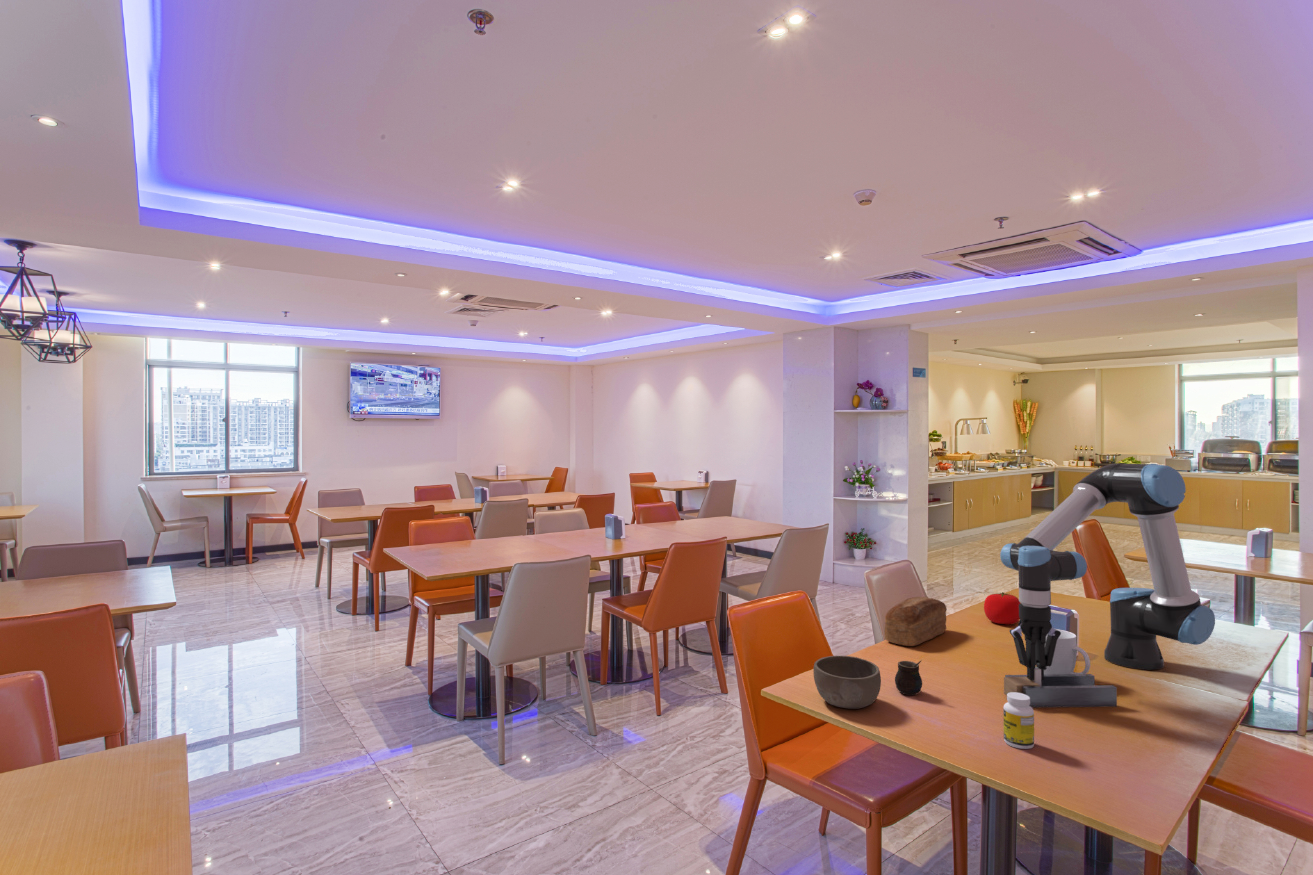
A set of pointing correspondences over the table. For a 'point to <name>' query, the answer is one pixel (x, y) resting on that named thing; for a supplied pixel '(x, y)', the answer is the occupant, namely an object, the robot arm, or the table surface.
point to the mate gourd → (908, 678)
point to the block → (1017, 684)
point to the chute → (1070, 692)
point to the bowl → (847, 681)
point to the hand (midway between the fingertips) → (1035, 691)
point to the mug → (1066, 655)
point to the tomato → (1002, 608)
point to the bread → (915, 621)
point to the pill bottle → (1018, 721)
